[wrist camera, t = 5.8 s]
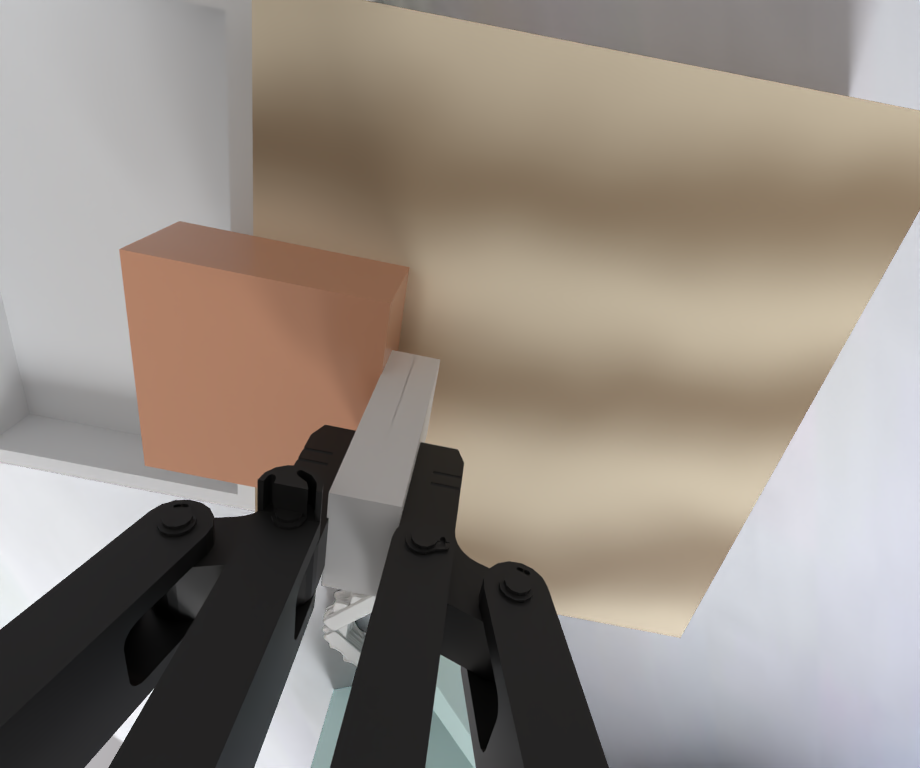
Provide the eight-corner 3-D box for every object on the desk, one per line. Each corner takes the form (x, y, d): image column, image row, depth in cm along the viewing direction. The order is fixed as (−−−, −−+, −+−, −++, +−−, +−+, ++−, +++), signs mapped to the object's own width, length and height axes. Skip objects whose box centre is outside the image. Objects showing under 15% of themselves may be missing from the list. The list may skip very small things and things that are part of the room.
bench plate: (651, 535, 29) (680, 637, 24) (302, 468, 29) (255, 556, 24) (848, 105, 19) (969, 120, 14) (323, 1, 19) (251, -23, 14)
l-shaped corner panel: (431, 520, 31) (408, 643, 24) (510, 659, 36) (508, 792, 29) (247, 569, 34) (182, 689, 27) (343, 691, 39) (308, 817, 32)
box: (282, 464, 29) (255, 511, 26) (28, 415, 29) (-29, 457, 26) (294, -5, 19) (252, -18, 16) (-91, -82, 19) (-205, -109, 16)
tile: (383, 452, 21) (364, 508, 18) (192, 414, 21) (144, 465, 18) (409, 267, 17) (390, 303, 15) (179, 220, 17) (118, 248, 15)
